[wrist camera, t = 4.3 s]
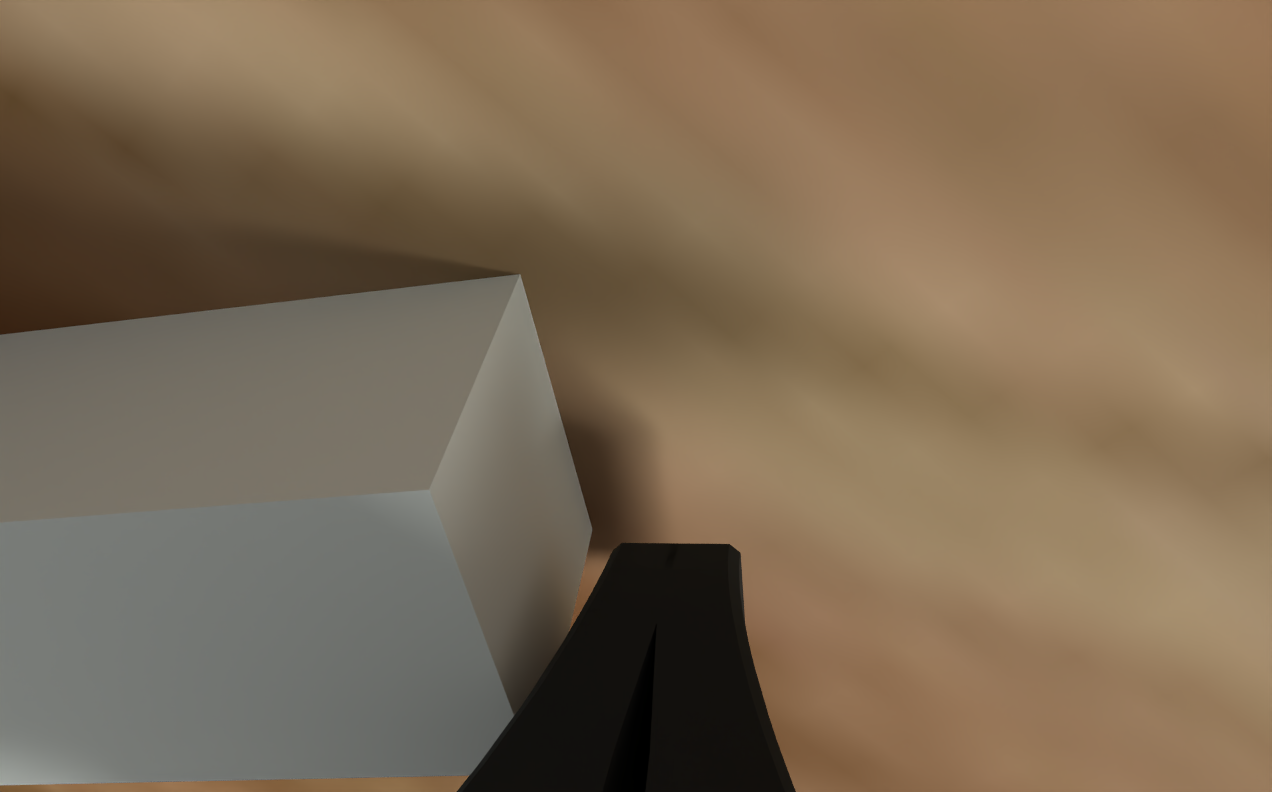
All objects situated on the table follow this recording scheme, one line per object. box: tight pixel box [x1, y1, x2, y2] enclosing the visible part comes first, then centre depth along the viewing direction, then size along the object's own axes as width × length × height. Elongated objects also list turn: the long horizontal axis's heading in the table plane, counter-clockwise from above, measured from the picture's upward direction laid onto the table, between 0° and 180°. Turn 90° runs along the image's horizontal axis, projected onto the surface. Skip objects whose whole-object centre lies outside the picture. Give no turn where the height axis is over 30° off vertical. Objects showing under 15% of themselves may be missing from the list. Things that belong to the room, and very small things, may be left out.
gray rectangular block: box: [0, 274, 592, 785], centre depth 13 cm, size 4×12×4 cm, turn 101°
